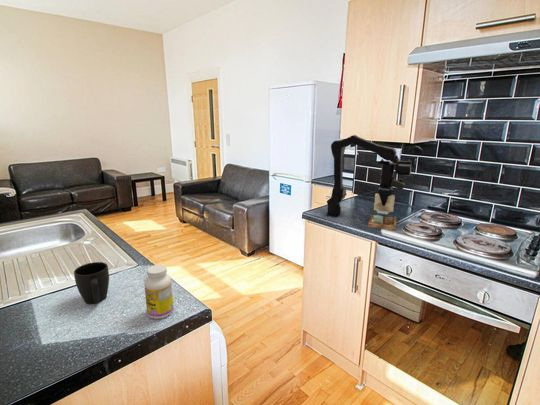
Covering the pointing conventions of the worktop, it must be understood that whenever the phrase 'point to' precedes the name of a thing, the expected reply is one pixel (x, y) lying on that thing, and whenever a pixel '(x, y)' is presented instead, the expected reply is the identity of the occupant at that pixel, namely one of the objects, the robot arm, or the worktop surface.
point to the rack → (383, 226)
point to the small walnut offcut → (388, 221)
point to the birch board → (388, 205)
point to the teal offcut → (378, 218)
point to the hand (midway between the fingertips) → (383, 204)
